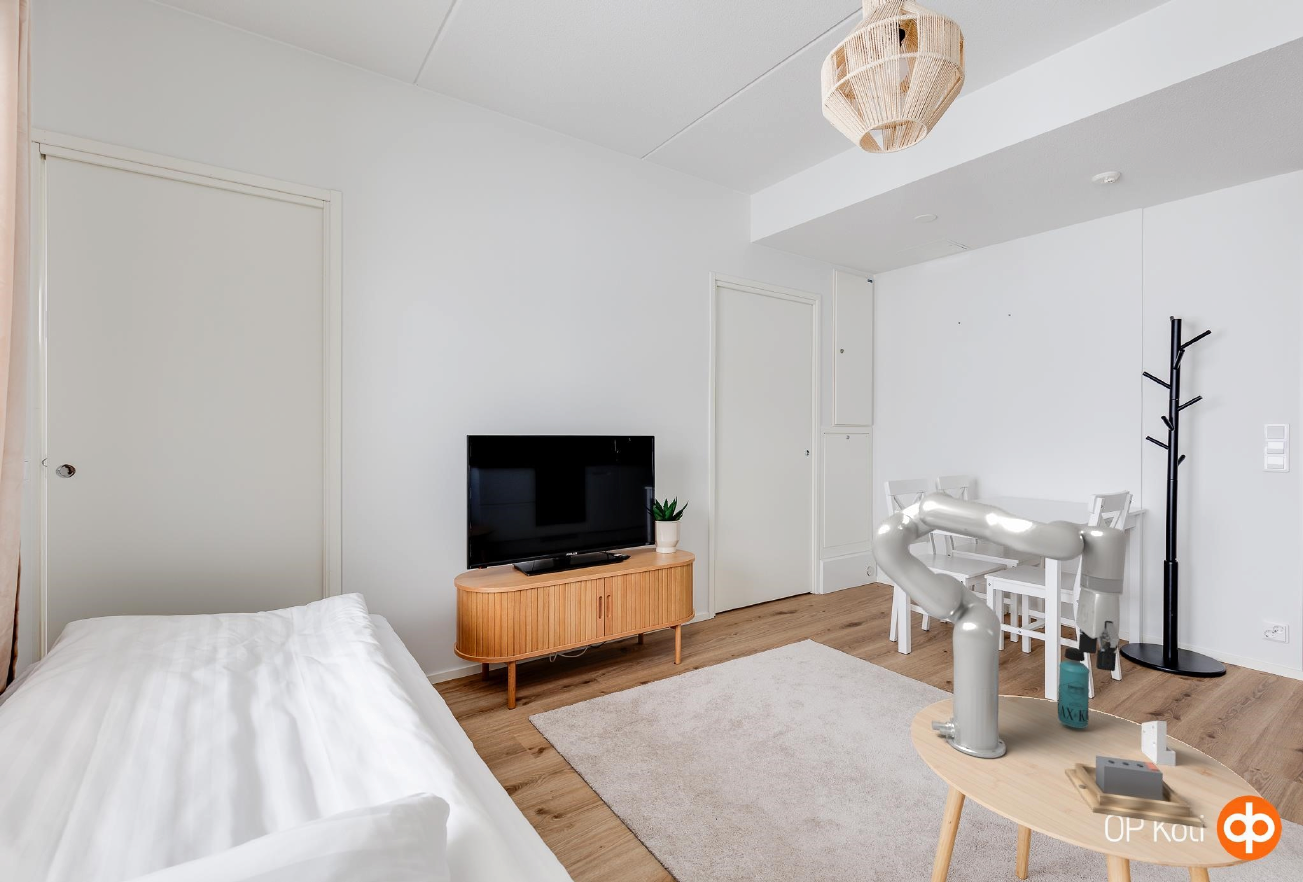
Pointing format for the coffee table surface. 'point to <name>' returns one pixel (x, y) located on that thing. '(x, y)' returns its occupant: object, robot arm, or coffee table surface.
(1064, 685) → the beverage bottle
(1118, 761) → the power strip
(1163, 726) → the white wedge bracket
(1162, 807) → the wooden tray
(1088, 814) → the coffee table surface
